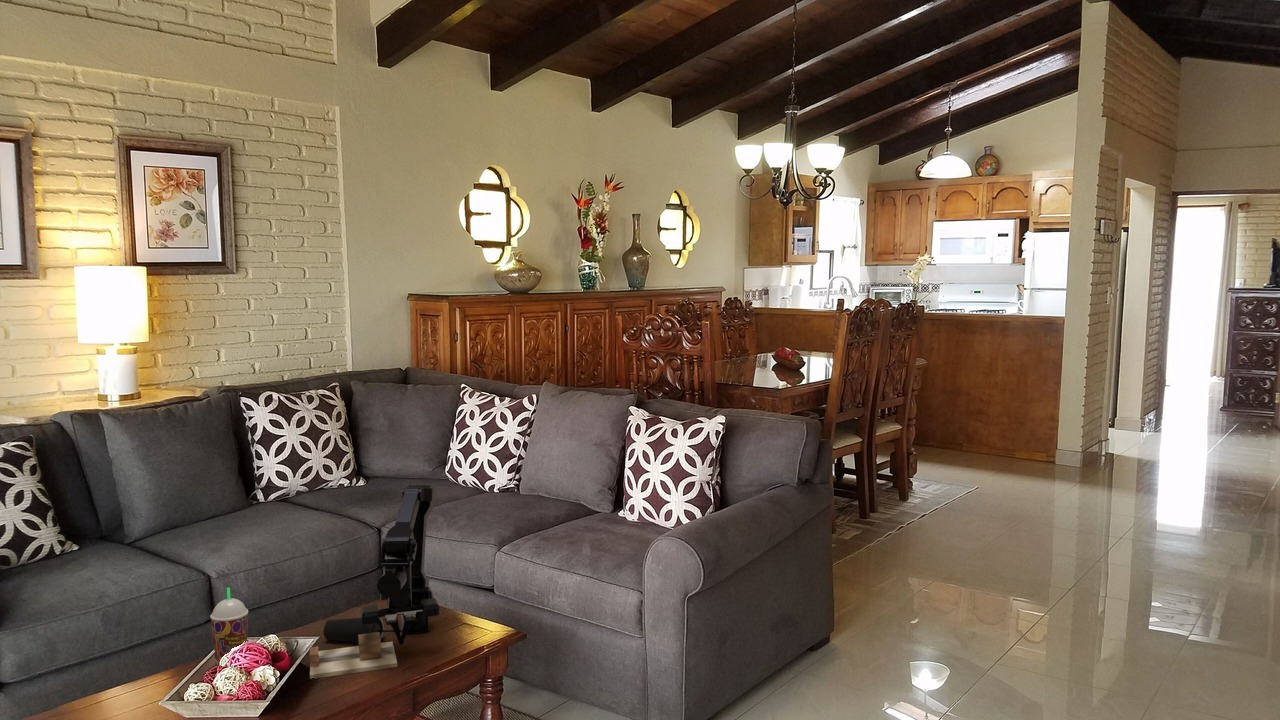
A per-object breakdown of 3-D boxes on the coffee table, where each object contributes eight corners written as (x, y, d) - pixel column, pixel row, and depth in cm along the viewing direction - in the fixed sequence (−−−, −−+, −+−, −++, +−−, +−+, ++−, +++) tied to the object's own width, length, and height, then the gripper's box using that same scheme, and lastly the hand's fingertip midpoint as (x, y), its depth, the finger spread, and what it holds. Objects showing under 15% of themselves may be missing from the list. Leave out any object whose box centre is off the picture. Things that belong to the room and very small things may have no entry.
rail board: (392, 645, 230) (392, 630, 230) (397, 666, 217) (396, 650, 217) (310, 656, 224) (309, 640, 223) (310, 679, 210) (309, 662, 210)
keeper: (379, 648, 225) (379, 632, 225) (381, 657, 220) (380, 640, 219) (358, 651, 224) (358, 634, 223) (359, 660, 218) (359, 643, 218)
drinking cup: (337, 629, 239) (408, 631, 236) (325, 650, 232) (398, 653, 230) (330, 608, 235) (402, 609, 233) (318, 629, 229) (392, 631, 226)
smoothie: (231, 677, 211) (228, 595, 209) (204, 672, 214) (201, 591, 212) (257, 663, 219) (255, 584, 217) (231, 658, 222) (228, 580, 220)
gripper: (433, 570, 234) (434, 627, 235) (359, 578, 227) (360, 637, 228) (439, 583, 223) (440, 643, 225) (361, 592, 217) (362, 654, 218)
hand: (400, 644), depth 224 cm, fingers closed
